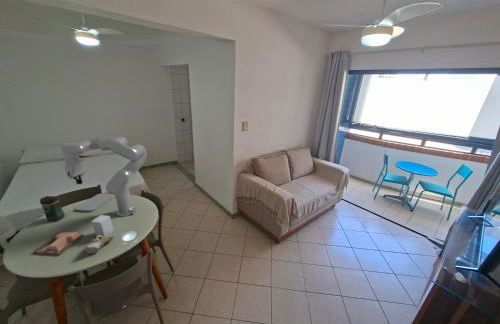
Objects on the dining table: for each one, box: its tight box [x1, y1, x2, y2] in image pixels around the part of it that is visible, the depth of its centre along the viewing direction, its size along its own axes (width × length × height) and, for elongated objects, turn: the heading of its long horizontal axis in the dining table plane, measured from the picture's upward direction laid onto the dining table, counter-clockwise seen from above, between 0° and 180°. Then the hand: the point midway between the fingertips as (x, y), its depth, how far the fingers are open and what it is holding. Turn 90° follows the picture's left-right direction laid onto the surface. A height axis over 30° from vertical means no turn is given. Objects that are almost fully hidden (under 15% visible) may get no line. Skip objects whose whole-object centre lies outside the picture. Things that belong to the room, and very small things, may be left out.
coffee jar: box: [39, 195, 65, 222], centre depth 141 cm, size 10×8×19 cm
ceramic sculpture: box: [84, 235, 114, 255], centre depth 118 cm, size 11×9×15 cm
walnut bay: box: [32, 233, 85, 256], centre depth 120 cm, size 16×16×2 cm
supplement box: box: [91, 214, 115, 238], centre depth 128 cm, size 7×7×13 cm
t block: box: [48, 231, 79, 252], centre depth 120 cm, size 10×12×4 cm
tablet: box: [74, 193, 115, 213], centre depth 165 cm, size 16×26×2 cm, turn 176°
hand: (79, 183), depth 141 cm, fingers closed
